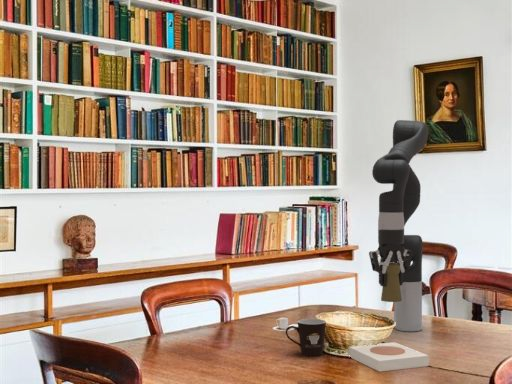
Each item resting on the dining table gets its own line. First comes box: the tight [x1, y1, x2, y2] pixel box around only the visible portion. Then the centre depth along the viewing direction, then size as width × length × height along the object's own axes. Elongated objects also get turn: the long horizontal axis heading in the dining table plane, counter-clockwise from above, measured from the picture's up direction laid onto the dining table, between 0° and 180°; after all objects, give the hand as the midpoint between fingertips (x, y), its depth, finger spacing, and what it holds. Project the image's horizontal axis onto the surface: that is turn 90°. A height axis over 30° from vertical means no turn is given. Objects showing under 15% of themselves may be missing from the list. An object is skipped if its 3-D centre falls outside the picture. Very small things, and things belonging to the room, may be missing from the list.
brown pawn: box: [380, 262, 402, 303], centre depth 214 cm, size 6×6×11 cm
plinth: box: [348, 341, 430, 373], centre depth 213 cm, size 18×16×3 cm
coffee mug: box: [285, 318, 327, 358], centre depth 223 cm, size 12×9×10 cm
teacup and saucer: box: [272, 317, 298, 332], centre depth 260 cm, size 9×8×4 cm
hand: (391, 285), depth 214 cm, fingers closed on brown pawn, 5 cm apart
